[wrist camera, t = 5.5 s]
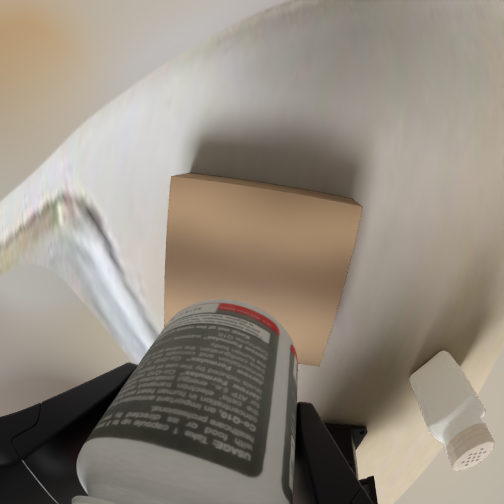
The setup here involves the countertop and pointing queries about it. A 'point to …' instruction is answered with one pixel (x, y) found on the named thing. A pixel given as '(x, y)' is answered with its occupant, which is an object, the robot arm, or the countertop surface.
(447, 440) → the pepper shaker
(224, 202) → the brown square block
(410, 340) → the countertop surface
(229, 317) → the pill bottle
